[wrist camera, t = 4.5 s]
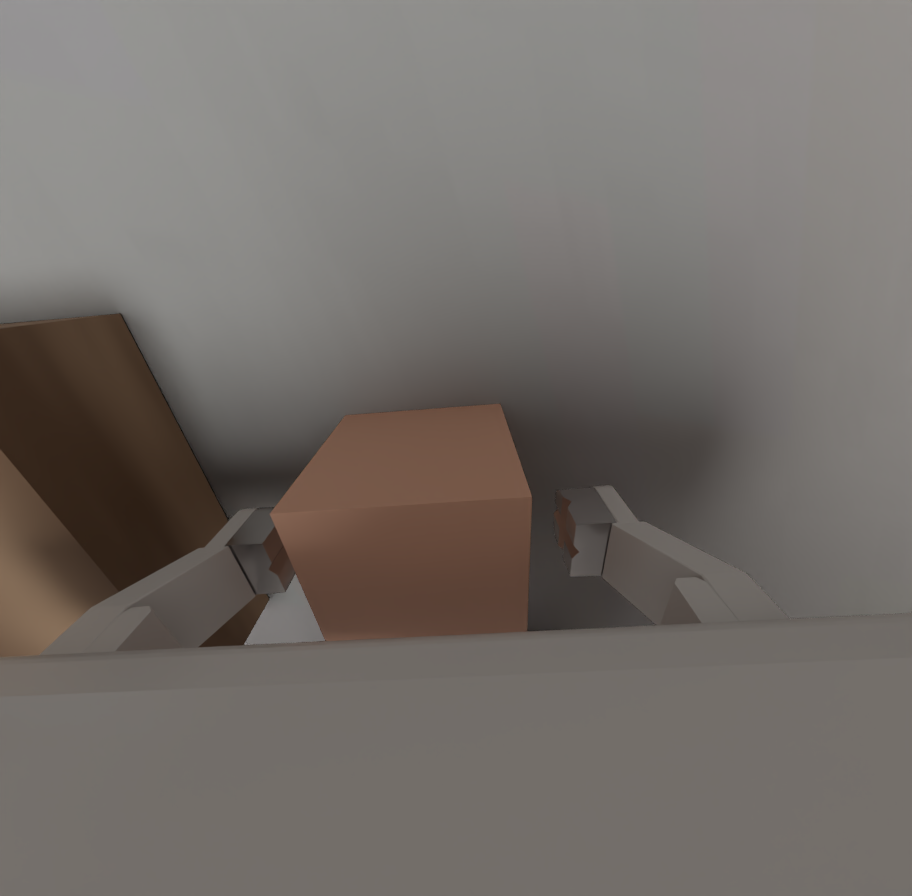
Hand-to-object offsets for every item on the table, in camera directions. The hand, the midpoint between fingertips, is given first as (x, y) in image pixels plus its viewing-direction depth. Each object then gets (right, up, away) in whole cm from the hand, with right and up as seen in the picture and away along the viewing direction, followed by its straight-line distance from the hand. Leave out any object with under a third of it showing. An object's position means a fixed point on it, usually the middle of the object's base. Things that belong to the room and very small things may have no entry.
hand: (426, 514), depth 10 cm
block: (0, +1, +2) cm, 2 cm away
